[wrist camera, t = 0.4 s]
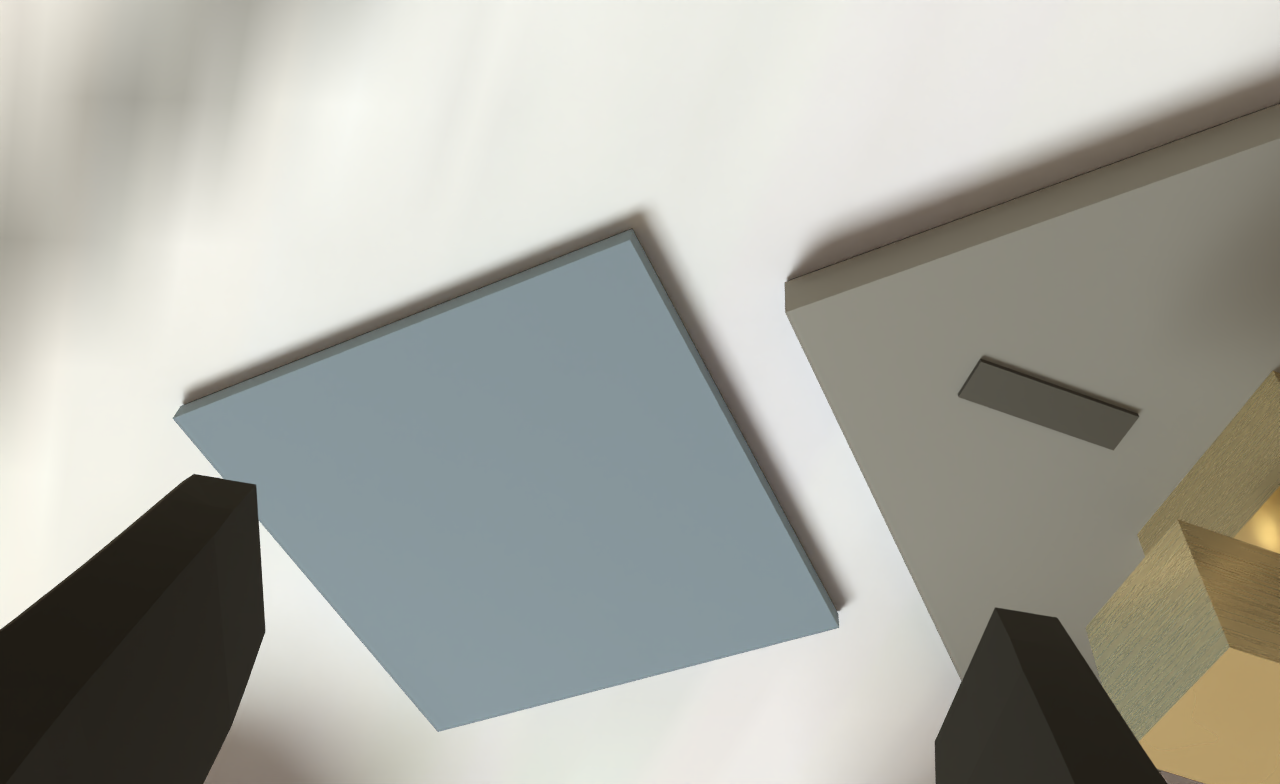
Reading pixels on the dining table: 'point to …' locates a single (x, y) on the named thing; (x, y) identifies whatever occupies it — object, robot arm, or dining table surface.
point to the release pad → (521, 491)
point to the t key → (1206, 613)
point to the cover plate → (1052, 370)
